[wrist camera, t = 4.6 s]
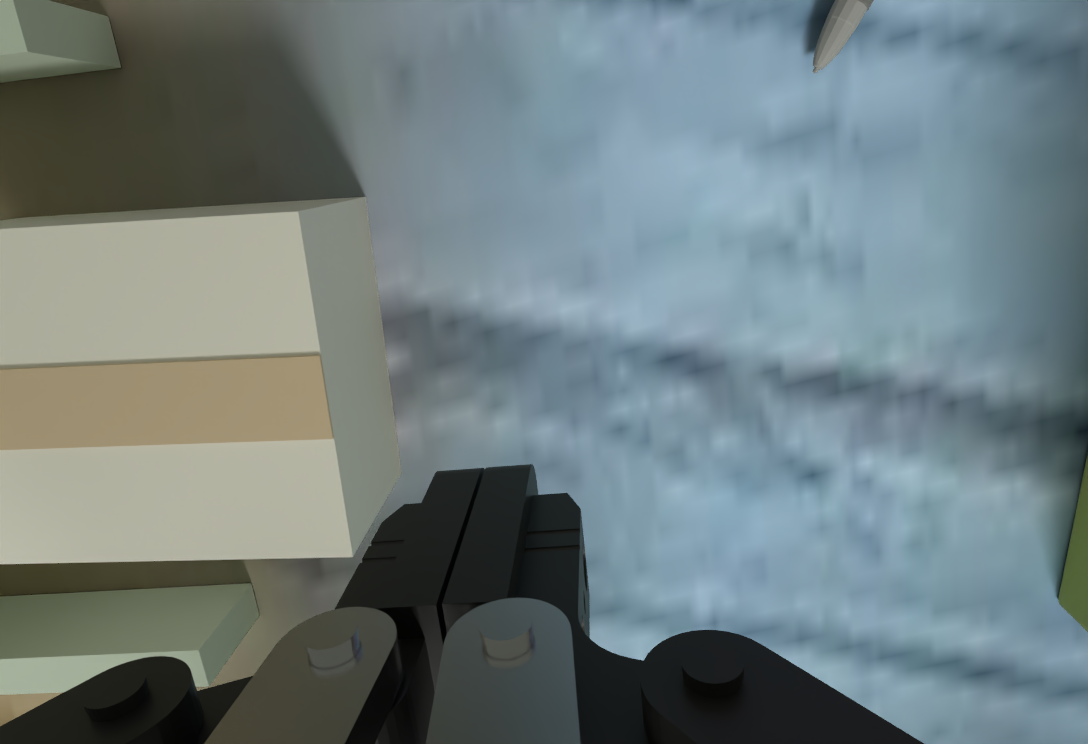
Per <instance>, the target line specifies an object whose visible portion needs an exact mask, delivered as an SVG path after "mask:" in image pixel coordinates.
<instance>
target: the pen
mask: <svg viewBox="0 0 1088 744" xmlns="http://www.w3.org/2000/svg"><path fill="white" fill-rule="evenodd" d="M872 2H873V0H835V2H834V4H833V6H832V8H831V10H830V12H829V14H828V16H827V19H826V22H825V24H824V26H823V29H822V31H821V34H820V37H819V39H818V42H817V46H816V50H815V54H814V60H813V66H814V67H815V68H814V70H813V72H814V73H817V72H818V70H819V69H823V68H824V67H825V66H827V65H828V64H829V63H830V62H831V61H832V60H833V59H834V58H835V57H836V55H837V54H838V53H839V52H840V50H841V49H842V48H843V46H844V45H845V44H846V42H847V41H848V39H849V38H850V36H851V35H852V33H853V32H854V31H855V29H856V28H857V26H858V24H859V23H860V21H861V19H862V17H863V16H864V14H865V12H866V11H867V10H868V9H869V7H870V6H871V4H872Z"/></svg>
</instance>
